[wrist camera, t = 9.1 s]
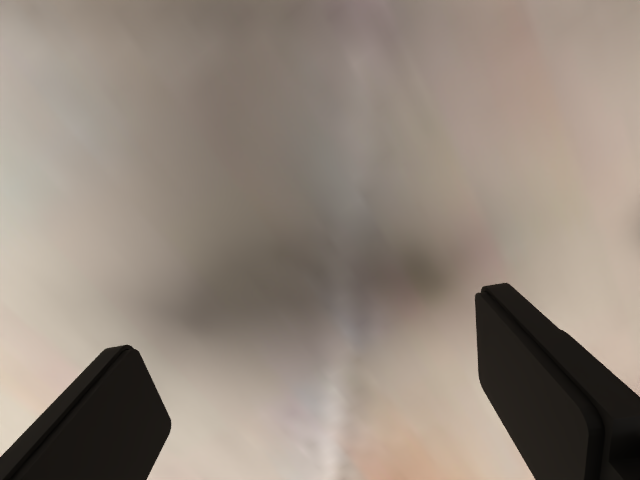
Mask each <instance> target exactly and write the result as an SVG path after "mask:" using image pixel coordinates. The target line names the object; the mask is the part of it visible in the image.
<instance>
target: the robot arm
mask: <svg viewBox="0 0 640 480" xmlns="http://www.w3.org/2000/svg"><path fill="white" fill-rule="evenodd" d="M475 308H476V329H477V351H478V373H479V380H480V383H481V386H482V388H483V390H484V392H485V394H486V395H487V397H488V399H489V401H490V402H491V404H492V406H493V407H494V409H495V411H496V413H497V414H498V416H499V418H500V419H501V421H502V423H503V425H504V426H505V428H506V430H507V431H508V433H509V435H510V437H511V438H512V440H513V442H514V443H515V445H516V447H517V449H518V450H519V452H520V454H521V456H522V457H523V459H524V461H525V462H526V464H527V466H528V468H529V469H530V471H531V473H532V474H533V476H534V478H535V480H640V397H639V396H638V395H637V394H636V393H635V392H633V391H632V390H631V389H630V388H629V387H628V386H627V385H625V384H624V383H623V382H622V381H621V380H620V379H619V378H618V377H616V376H615V375H614V374H613V373H612V372H611V371H610V370H608V369H607V368H606V367H605V366H604V365H603V364H602V363H601V362H599V361H598V360H597V359H596V358H595V357H594V356H593V355H591V354H590V353H589V352H588V351H587V350H586V349H585V348H584V347H582V346H581V345H580V344H579V343H578V342H577V341H576V340H575V339H573V338H572V337H571V336H570V335H569V334H567V333H566V332H564V331H563V330H560V329H559V328H558V327H557V326H555V325H554V324H553V323H552V322H551V321H550V320H549V319H548V318H546V317H545V316H544V315H543V314H542V313H541V312H540V311H539V310H538V309H536V308H535V307H534V306H533V305H532V304H531V303H530V302H529V301H528V300H526V299H525V298H524V297H523V296H522V295H521V294H520V293H519V292H517V291H516V290H515V289H514V288H513V287H512V286H511V285H510V284H508V283H501V284H495V285H489V286H484V287H482V290H481V293H477V294H476V295H475ZM170 430H171V419H170V417H169V415H168V413H167V410H166V408H165V406H164V404H163V402H162V400H161V398H160V395H159V393H158V391H157V389H156V387H155V385H154V383H153V381H152V378H151V376H150V374H149V372H148V370H147V368H146V366H145V364H144V361H143V359H142V357H141V355H140V353H139V351H138V350H136V349H134V348H133V347H132V346H130V345H123V346H117V347H111V348H107V349H105V350H104V351H102V352H101V353H100V355H99V356H98V357H97V358H96V359H95V360H94V361H93V362H92V363H91V364H90V365H89V366H88V367H87V368H86V369H85V370H84V371H83V372H82V373H81V374H80V375H79V376H78V377H77V378H76V379H75V380H74V381H73V382H72V384H71V385H70V386H69V387H68V388H67V389H66V390H65V391H64V392H63V393H62V394H61V395H60V396H59V397H58V398H57V399H56V400H55V401H54V402H53V403H52V404H51V405H50V406H49V407H48V408H47V409H46V410H45V411H44V413H43V414H42V415H41V416H40V417H39V418H38V419H37V420H36V421H35V422H34V423H33V424H32V425H31V426H30V427H29V428H28V429H27V430H26V431H25V432H24V433H23V434H22V435H21V436H20V437H19V438H18V439H17V440H16V442H15V443H14V444H13V445H12V446H11V447H10V448H9V449H8V450H7V451H6V452H5V453H4V454H3V455H2V456H1V457H0V480H146V479H147V477H148V475H149V473H150V471H151V469H152V467H153V465H154V463H155V461H156V459H157V457H158V455H159V453H160V451H161V449H162V447H163V445H164V443H165V441H166V439H167V437H168V435H169V433H170Z"/></svg>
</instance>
